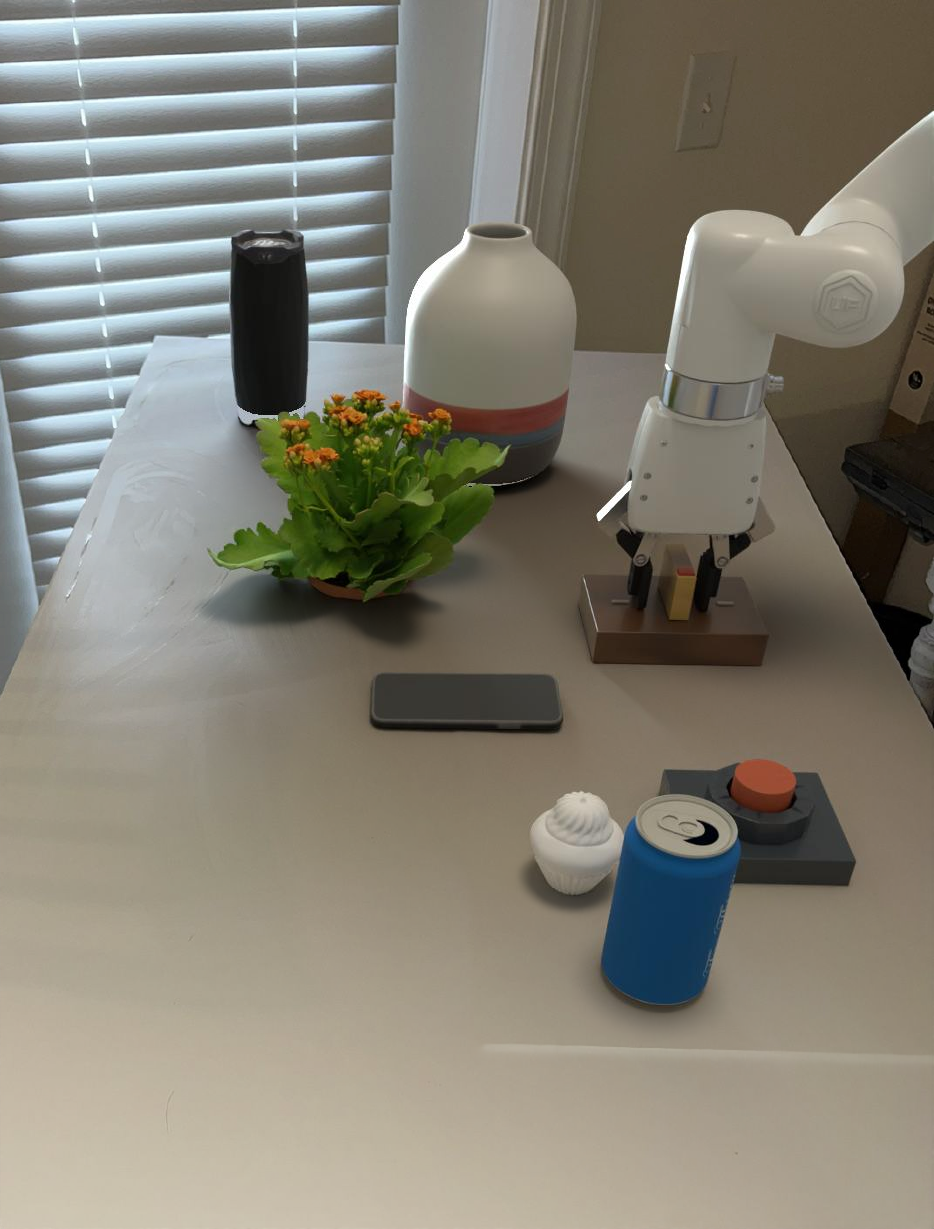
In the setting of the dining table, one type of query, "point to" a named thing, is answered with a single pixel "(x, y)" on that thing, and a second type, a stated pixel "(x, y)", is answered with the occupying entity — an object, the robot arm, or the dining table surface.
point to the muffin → (576, 843)
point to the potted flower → (365, 498)
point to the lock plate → (670, 626)
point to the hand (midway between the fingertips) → (669, 600)
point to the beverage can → (670, 898)
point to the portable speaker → (269, 321)
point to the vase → (493, 348)
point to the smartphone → (466, 700)
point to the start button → (763, 786)
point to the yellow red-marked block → (677, 581)
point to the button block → (776, 830)
